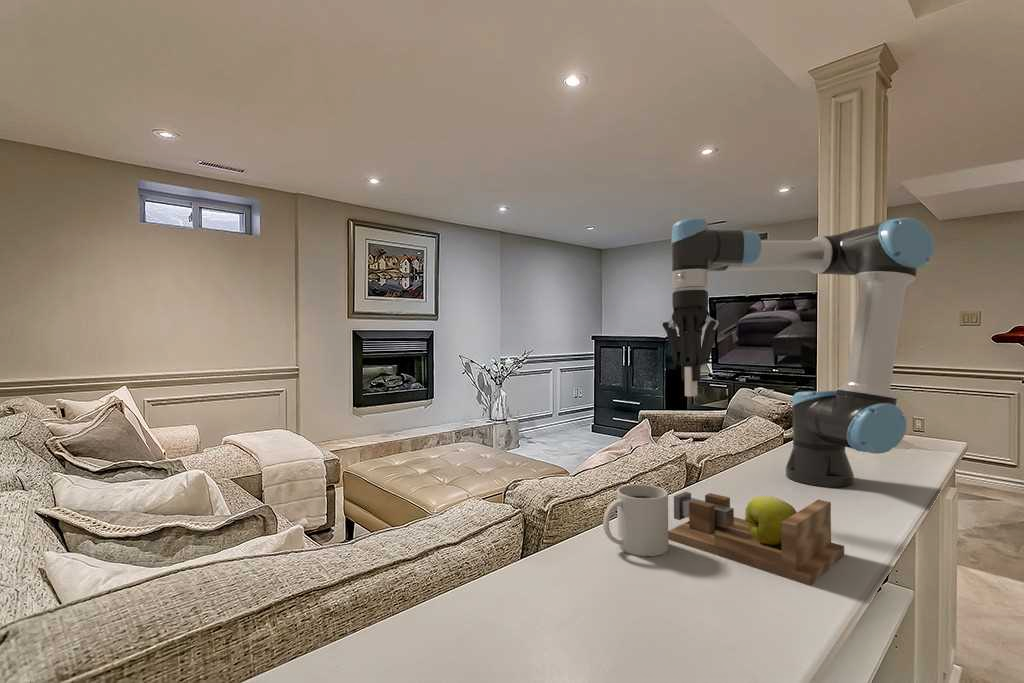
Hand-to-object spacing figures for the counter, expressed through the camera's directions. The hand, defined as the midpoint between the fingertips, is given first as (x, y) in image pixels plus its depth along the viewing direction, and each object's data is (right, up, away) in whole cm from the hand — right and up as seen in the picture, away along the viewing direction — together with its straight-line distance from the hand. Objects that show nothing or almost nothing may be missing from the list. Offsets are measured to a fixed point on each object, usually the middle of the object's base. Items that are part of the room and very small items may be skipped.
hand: (691, 395), depth 113 cm
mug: (-18, -25, -22) cm, 38 cm away
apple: (+5, -23, -25) cm, 34 cm away
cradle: (+3, -25, -23) cm, 34 cm away
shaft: (-3, -23, -16) cm, 28 cm away
